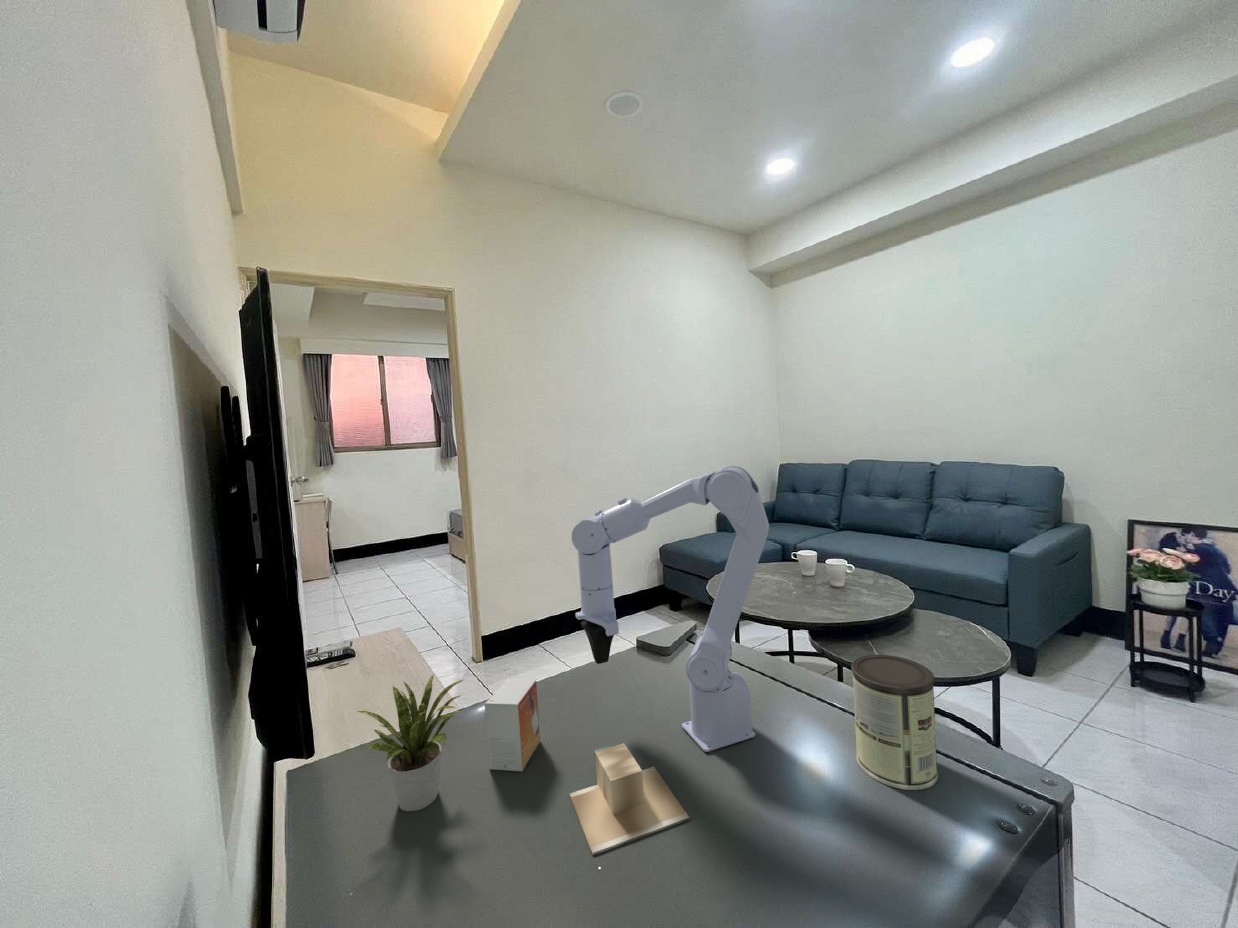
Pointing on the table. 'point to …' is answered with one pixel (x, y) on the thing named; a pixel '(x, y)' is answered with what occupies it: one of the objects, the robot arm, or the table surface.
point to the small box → (512, 725)
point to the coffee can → (895, 721)
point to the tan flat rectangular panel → (627, 814)
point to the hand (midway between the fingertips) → (601, 661)
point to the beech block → (619, 777)
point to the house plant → (414, 747)
